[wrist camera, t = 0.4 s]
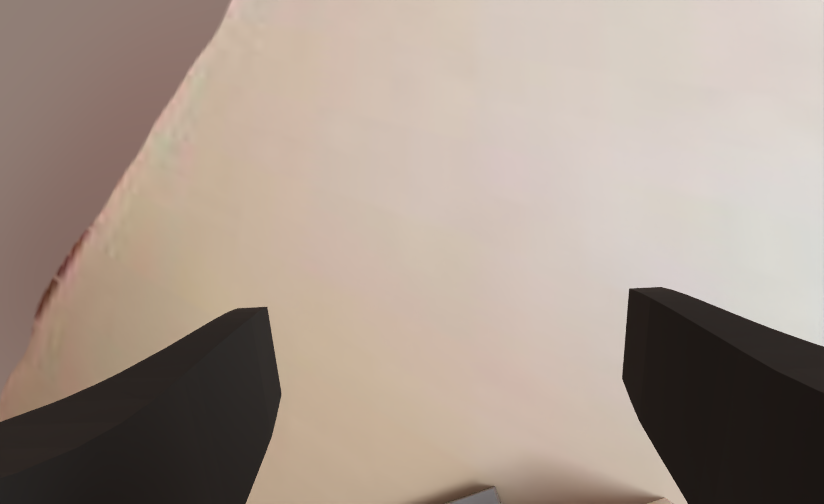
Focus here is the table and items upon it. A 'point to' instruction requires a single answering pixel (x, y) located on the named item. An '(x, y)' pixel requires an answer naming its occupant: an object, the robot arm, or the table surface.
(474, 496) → the grey rectangular tray
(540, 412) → the table surface
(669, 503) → the plug
